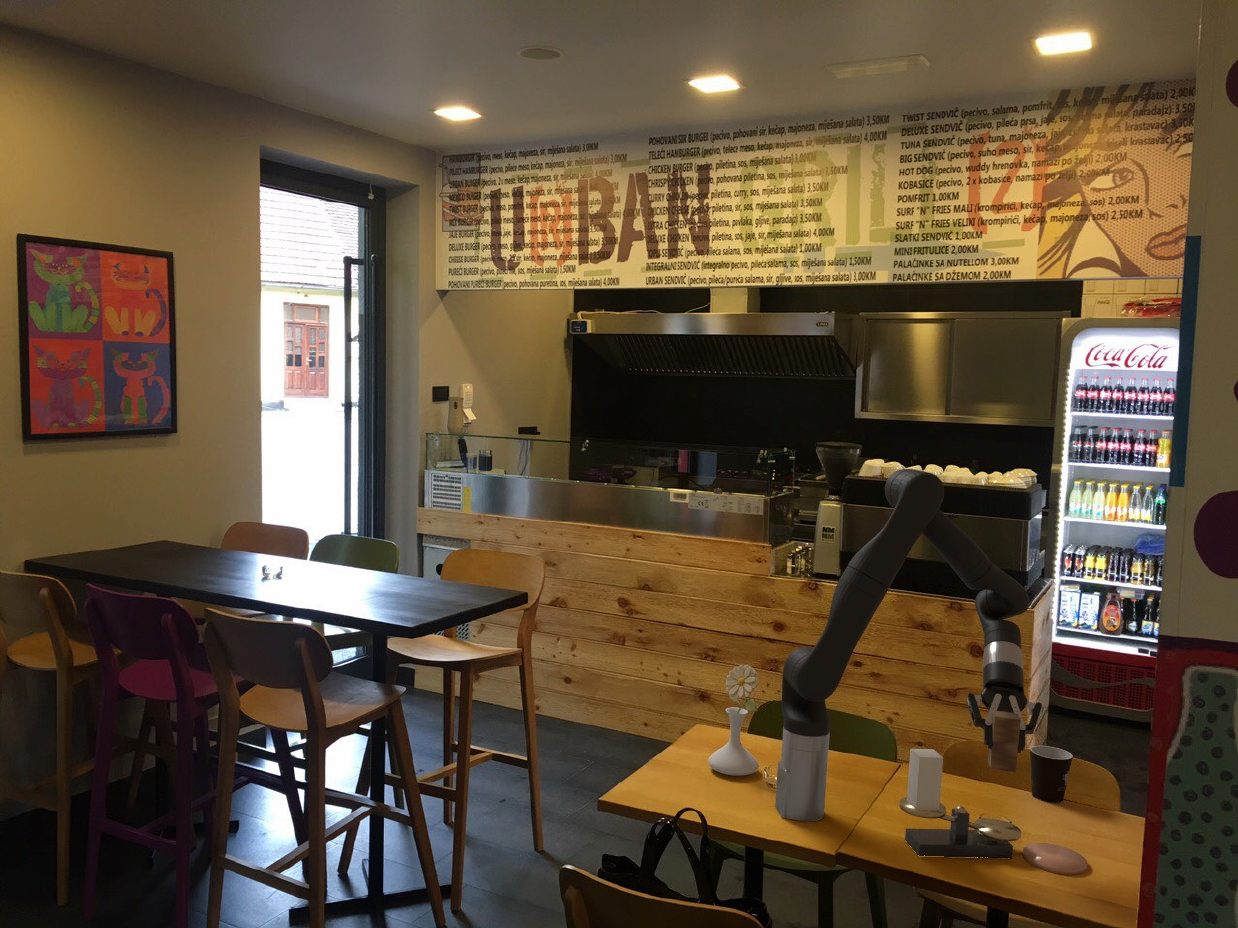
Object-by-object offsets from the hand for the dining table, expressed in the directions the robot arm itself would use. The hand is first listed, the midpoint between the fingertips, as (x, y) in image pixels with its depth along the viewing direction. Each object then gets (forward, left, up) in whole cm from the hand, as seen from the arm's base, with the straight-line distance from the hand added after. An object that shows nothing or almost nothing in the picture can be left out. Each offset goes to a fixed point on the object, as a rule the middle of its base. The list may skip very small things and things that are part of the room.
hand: (1004, 748), depth 187 cm
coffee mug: (+27, +30, -20) cm, 45 cm away
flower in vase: (-42, +40, -20) cm, 61 cm away
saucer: (+10, -2, -20) cm, 23 cm away
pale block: (-14, +2, -12) cm, 19 cm away
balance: (-7, +2, -20) cm, 22 cm away
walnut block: (+1, +2, -4) cm, 4 cm away
